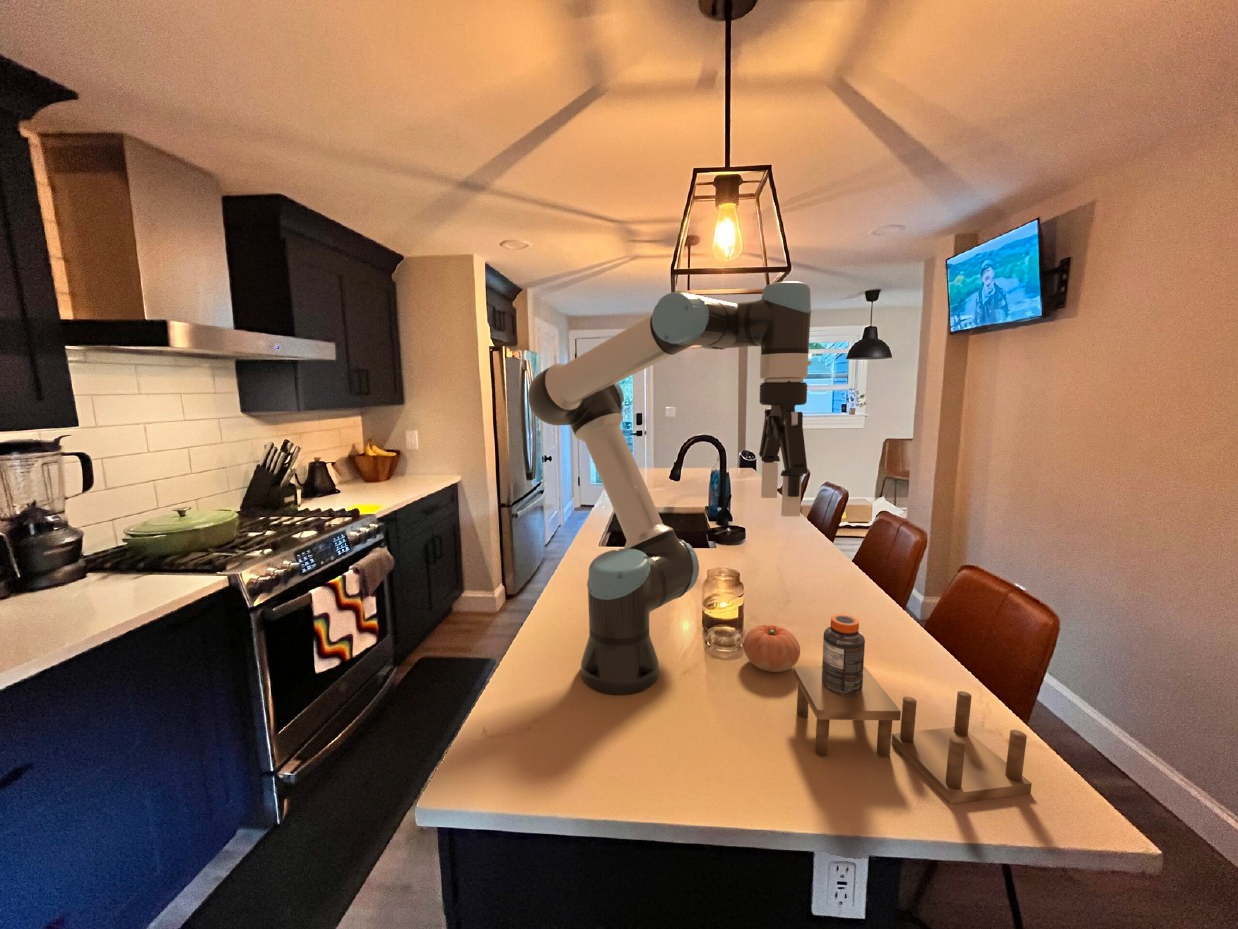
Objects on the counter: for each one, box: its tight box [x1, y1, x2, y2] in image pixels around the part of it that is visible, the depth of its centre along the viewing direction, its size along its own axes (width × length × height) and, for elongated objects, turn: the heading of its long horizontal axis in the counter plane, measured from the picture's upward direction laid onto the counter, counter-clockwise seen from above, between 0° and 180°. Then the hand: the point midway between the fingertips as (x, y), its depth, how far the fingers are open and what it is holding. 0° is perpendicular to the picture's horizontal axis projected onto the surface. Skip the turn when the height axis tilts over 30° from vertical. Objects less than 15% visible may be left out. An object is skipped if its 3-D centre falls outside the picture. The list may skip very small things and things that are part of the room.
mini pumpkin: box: [742, 624, 801, 673], centre depth 102 cm, size 11×11×8 cm
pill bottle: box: [821, 613, 866, 696], centre depth 81 cm, size 6×6×11 cm
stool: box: [792, 665, 902, 759], centre depth 82 cm, size 12×12×8 cm
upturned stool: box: [891, 690, 1033, 805], centre depth 74 cm, size 12×12×8 cm
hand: (778, 506), depth 88 cm, fingers open, 13 cm apart
